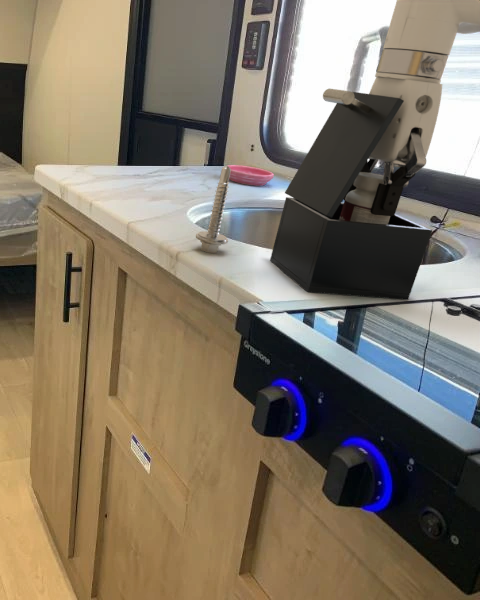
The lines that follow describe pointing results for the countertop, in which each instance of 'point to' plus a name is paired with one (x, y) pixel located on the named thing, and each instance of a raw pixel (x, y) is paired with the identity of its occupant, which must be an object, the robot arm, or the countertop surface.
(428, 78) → the robot arm
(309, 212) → the bin
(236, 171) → the saucer
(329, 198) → the bin lid
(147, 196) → the countertop surface
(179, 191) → the countertop surface
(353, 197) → the pill bottle
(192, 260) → the countertop surface
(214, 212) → the screw
